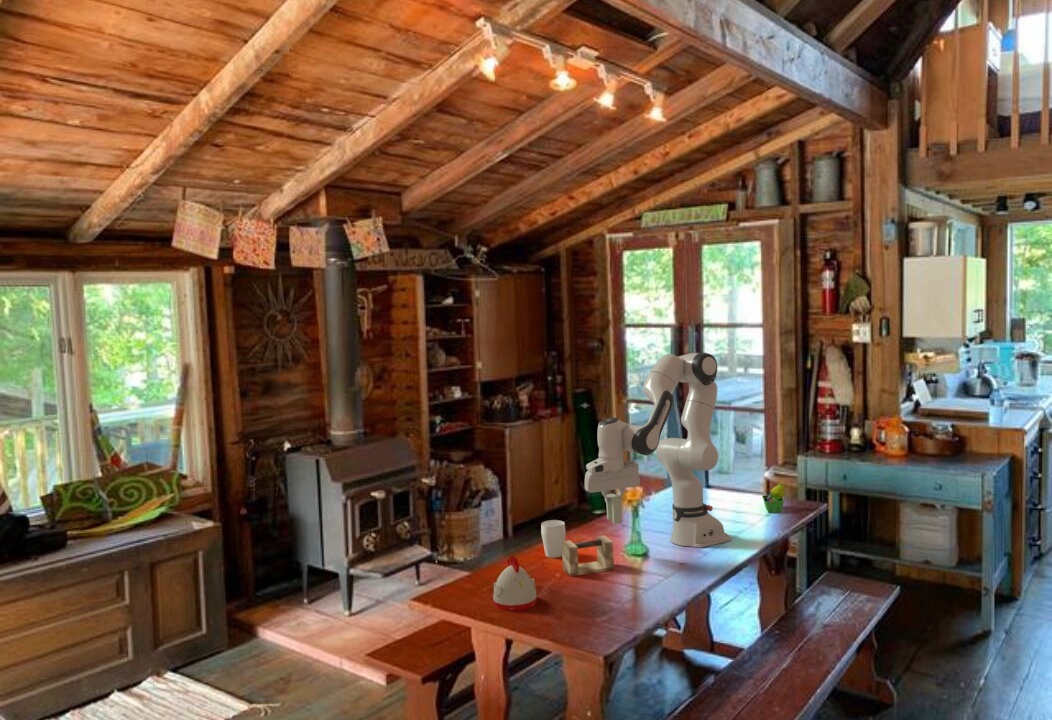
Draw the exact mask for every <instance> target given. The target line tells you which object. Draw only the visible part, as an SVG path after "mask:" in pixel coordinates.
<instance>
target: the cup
mask: <svg viewBox="0 0 1052 720" xmlns="http://www.w3.org/2000/svg"><path fill="white" fill-rule="evenodd" d="M540 525H541V526H540V527H541V528H540V529H541V530H540V533H541V538H542V544H543V548H544V554H545V556H546V557H547V558H551V559H556V558H557V557H558V558H561V557H562V541H566V524H565V521H562V520H558V519H551V520H545V521H542V522H541V523H540Z"/></svg>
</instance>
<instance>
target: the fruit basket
mask: <svg viewBox="0 0 1052 720" xmlns="http://www.w3.org/2000/svg"><path fill="white" fill-rule="evenodd" d="M785 490H786V488H785V485H784V484H783V483H777V485H776V486H774V487H773V488H772V489H771V490H770V492H771V493H770V494H764V495H762V499H763V503H764V507H765V509H766V511H767V513H768V514H772V513H773V514H775V513H782V510H783V507H784V506H783V505H784V502H785V500H784V499H783V498H784V497H785Z"/></svg>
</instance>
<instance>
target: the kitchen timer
mask: <svg viewBox="0 0 1052 720" xmlns="http://www.w3.org/2000/svg"><path fill="white" fill-rule="evenodd" d="M506 562H507V567H506V568H504V570H503V571H502V572H501V573H500V575H499V576H498V577H497V580H496V582H494V583H493V596H492V598H493V605H494V607H495V608H497V609H500V610H504V611H521V610H525V609H529V608H531V607H533V606H534V605H536V604H537V602H538V599H537V596H538V595H537V590H536V583H535V579H534V578H531V576H530V575H529V574H528V572H527V571H526V570H525V569H524V568H522V567H521V566H520V563H519V562H518V558H516V557H515V556H514V555H513V554H512V555H509V557H508V559H507V560H506Z"/></svg>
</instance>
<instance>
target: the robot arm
mask: <svg viewBox="0 0 1052 720" xmlns="http://www.w3.org/2000/svg"><path fill="white" fill-rule="evenodd" d="M717 374H718V361H717V359H716V358H715V356H714V355H713V354H711V353H709V352H708V353H707V352H690V353H686V354H683V355H675V354H673V353H667V354H663V355H662V356H661V358H659V359H658V361H656V363H655V364H654V366H653V367H652V368H651V370H650V372H649V373H648V375H646V378H645V379H644V381H643V386H642V387H643V389H642V390H643V392H644V395H645V396H646V397H647V399H648V400H649V401H650V402H652V403H653V404H654V405H653V409H652V411H651V413H650V416H649V418H648V421H647V422H646V423H645V424H643V425H635V424H630V423H627V422H625V421H622V420H621V419H619V417H613V416H612V417H606V418H604V419H601V421H599V423H598V426H597V433H596V435H597V436H596V437H597V446H598V458H596V459H595V460H592V461H590V462H589V463H587V464H586V465H585V468H586V470H587V471H586V472H585V475H584V490H585V491H586V492H587V493H589V494H593V493H600V492H601V494H602V496H603V497H604V502H605V503H608V502H610V497H607V494H608V491H612V490H618V491H619V492H618V494H617V496H618V497H620V498H621V502H622V500H623V495H624V493H625V489H628V488H636V487H639V486H640V483H641V480H640V474H639V469H640V468H639V467H640V466H639V463H638V462H637V461H635V460H630V461H629V460H628V461H624V453H623V452H624V451H626V452H627V451H628V452H631V453H636V454H639V455H642V456H650V455H652V454H653V453H654V452H655V455H656V458H657V460H658V462H660V463H661V465H662V466H663V467H664V469H665V471H666V472H667V474H668V476H669V479H670V482H671V485H672V494H673V495H672V498H673V504H672V519H673V525H672V532H671V536H670V537H671V538H670V542H671V543H673V544H675V545H677V546H683V547H694V548H698V549H699V548H700V549H701V548H705V547H710V546H713V545H718V544H723V543H726V542H730V541H731V540H732V539H731V536H730V535H729V534H728V533H727V532H725V528H724V525H723V523H722V522H721V521H720V520H719V519H718V518H716V517H714V516H713V515H712V514H710V513H709V512H712V511H713V510H714V508H713V506H712V505H710V504H705V502H704V493H703V492H704V490H703V484H702V482H701V481H700V479H698V478H697V477H696V475H695V473H694V472H693V471H702V472H703V471H710V470H713V469H714V468H715V467H716V465H717V463H718V461H719V452H718V449H717V447H716V446H715V445H714V444H713V441H712V439H711V431H710V430H711V425H712V421H713V416H714V413H715V412H714V411H715V408H716V403H717V398H718V386H717V385H718V384H717V383H716V382H715V381H716V379H717ZM679 383H680V384H683V383H688V388H689V389H688V390H689V391H688V394H687V396H686V400H685V403H684V408H683V411H682V414H681V417H680V421H681V425H682V427H684V428H685V429H686V430H687V437H686V438H679V437H669V438H663V439H661V435H662V433H663V429H664V427H665V425H666V423H667V420H668V418H669V415H670V412H671V411H672V408H673V406H674V405H673V404H674V396H673V395H674V394H673V393H674V391H675V389H676V388H677V386H678V384H679ZM692 470H693V471H692ZM708 511H709V512H708Z"/></svg>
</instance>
